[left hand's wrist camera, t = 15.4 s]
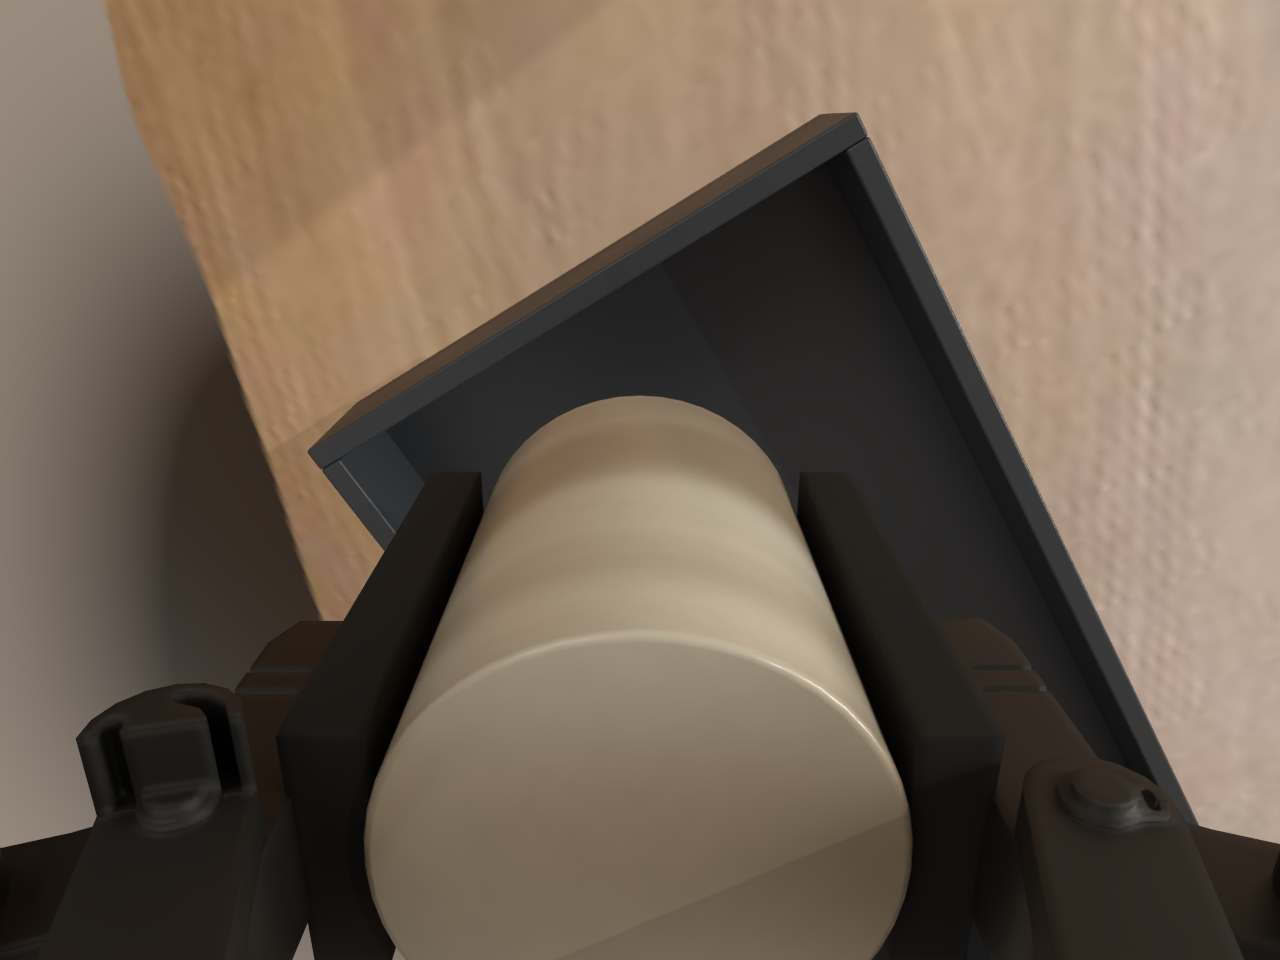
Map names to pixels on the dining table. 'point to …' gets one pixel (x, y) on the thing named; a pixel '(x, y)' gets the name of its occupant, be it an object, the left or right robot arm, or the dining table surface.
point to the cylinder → (638, 721)
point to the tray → (779, 400)
